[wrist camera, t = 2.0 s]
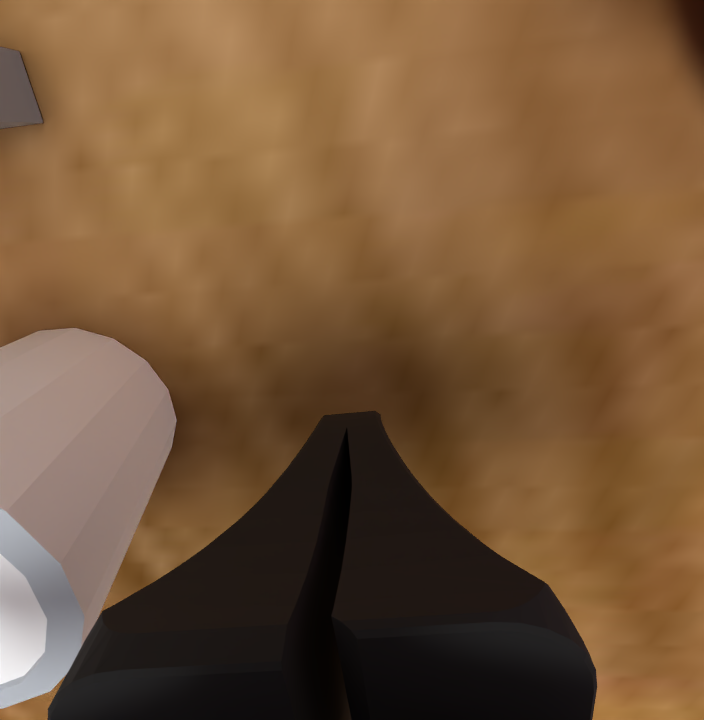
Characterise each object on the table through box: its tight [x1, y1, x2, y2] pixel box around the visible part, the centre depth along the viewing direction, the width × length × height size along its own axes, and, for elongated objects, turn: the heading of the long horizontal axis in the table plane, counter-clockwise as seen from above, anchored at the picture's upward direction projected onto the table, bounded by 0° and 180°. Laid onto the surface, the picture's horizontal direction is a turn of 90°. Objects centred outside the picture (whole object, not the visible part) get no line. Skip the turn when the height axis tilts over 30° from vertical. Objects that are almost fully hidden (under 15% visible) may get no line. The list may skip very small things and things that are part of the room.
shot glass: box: [0, 328, 177, 709], centre depth 12 cm, size 7×7×7 cm
